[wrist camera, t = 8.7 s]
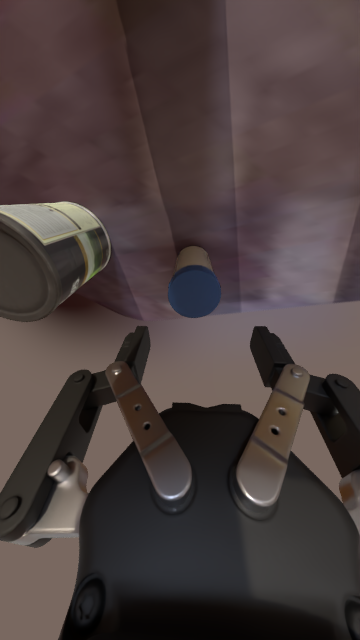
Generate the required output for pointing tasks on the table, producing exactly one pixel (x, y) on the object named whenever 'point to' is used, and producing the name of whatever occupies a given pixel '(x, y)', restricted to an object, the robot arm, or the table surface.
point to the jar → (193, 258)
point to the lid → (194, 291)
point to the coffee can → (47, 256)
